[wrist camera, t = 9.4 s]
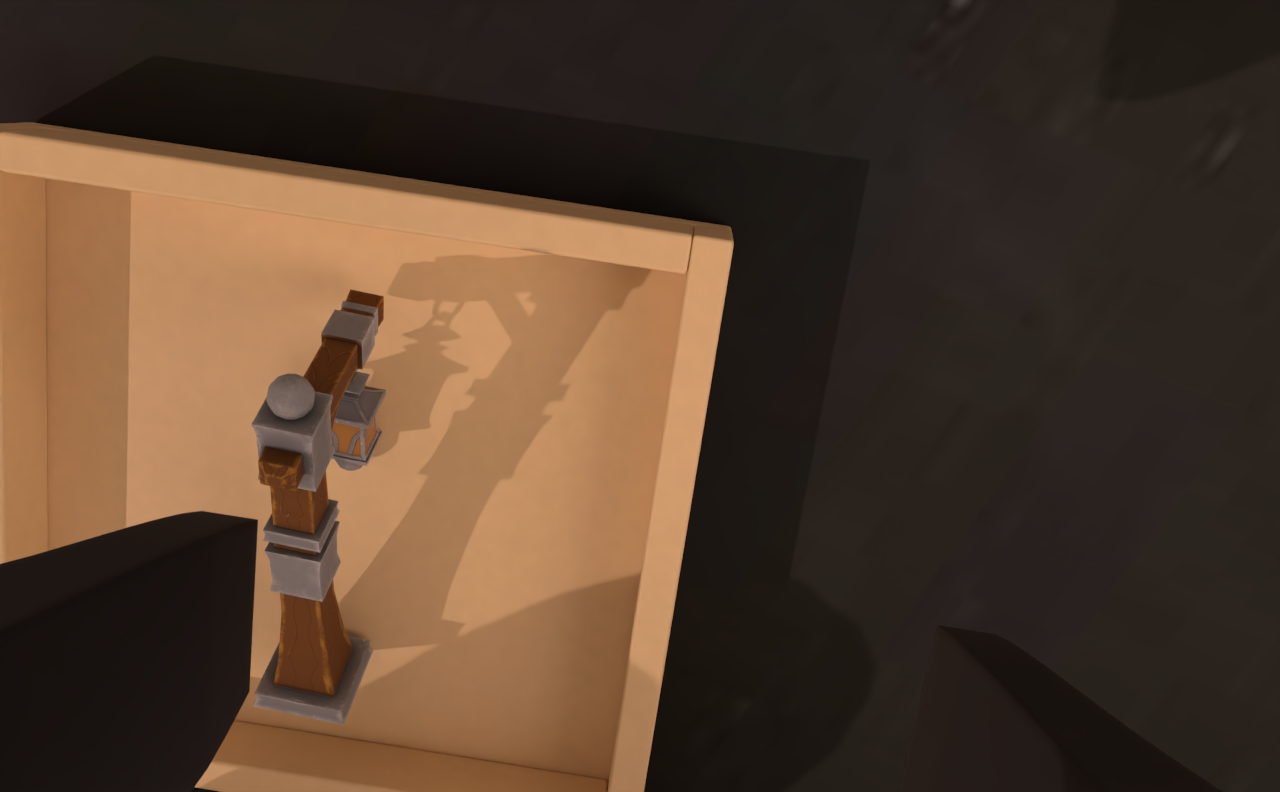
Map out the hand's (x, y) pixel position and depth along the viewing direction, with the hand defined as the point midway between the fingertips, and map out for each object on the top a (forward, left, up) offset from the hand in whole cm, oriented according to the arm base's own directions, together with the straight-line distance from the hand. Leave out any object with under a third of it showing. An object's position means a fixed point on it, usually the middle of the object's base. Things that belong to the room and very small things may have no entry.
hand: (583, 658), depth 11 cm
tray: (+6, +3, -10) cm, 12 cm away
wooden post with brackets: (+6, +3, -10) cm, 12 cm away
